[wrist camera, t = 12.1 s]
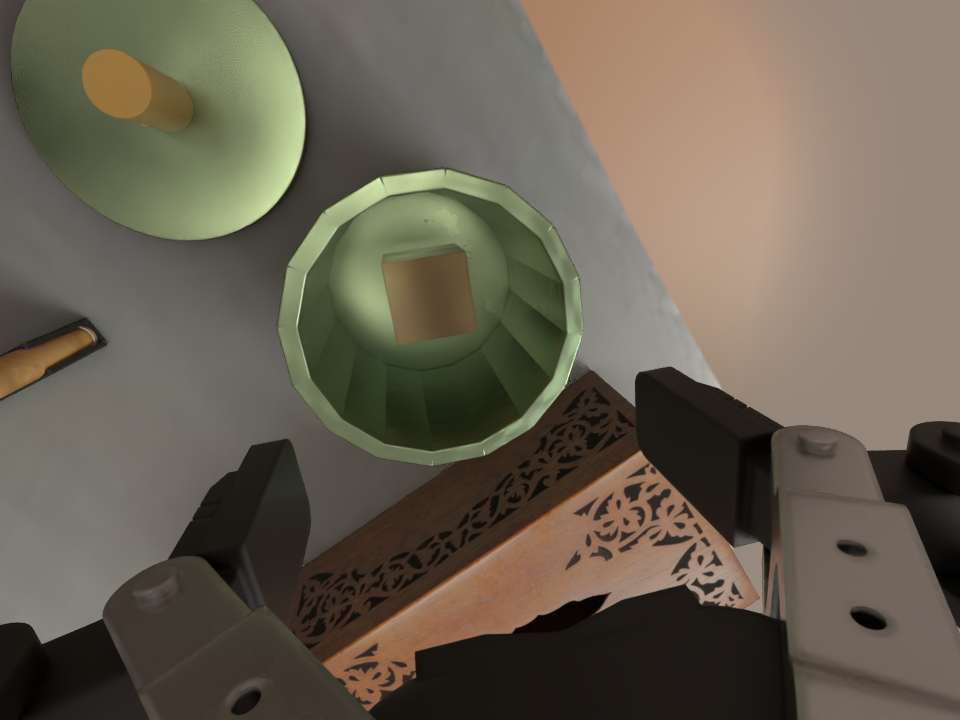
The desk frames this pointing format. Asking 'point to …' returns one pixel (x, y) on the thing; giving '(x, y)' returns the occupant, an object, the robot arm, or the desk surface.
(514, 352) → the canister
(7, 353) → the ammunition clip
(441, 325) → the block
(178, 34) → the lid
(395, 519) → the tissue box cover
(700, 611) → the robot arm
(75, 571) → the desk surface
